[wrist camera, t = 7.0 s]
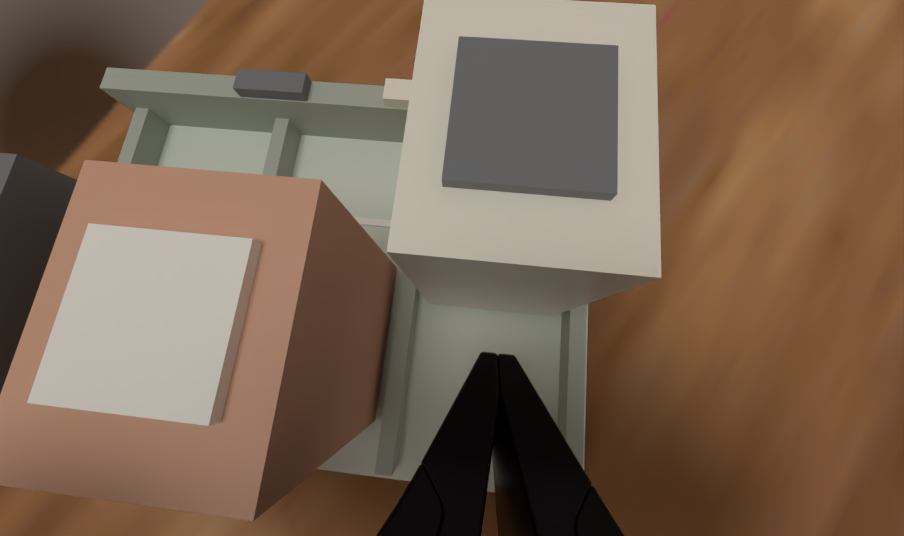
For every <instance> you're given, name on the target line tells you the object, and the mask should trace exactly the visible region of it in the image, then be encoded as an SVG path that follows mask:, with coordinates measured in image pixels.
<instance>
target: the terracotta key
mask: <svg viewBox="0 0 904 536" xmlns="http://www.w3.org/2000/svg"><path fill="white" fill-rule="evenodd" d="M396 271H397V267H396V266H395V265H394V264H393V263H392V261H391V260H390V259H389V258H388V257H387V256H386V254H385V253H384V252H383V251H382V250H381V249H380V247H379V246H378V245H377V244H376V243H375V242H374V240H373V239H372V238H371V237H370V236H369V235H368V233H367V232H366V231H365V230H364V229H363V228H362V226H361V225H360V224H359V223H358V222H357V221H356V219H355V218H354V217H353V216H352V215H351V214H350V212H349V211H348V210H347V209H346V208H345V207H344V205H343V204H342V203H341V202H340V201H339V200H338V198H337V197H336V196H335V195H334V194H333V193H332V191H331V190H330V189H329V188H328V187H327V186H326V184H325V183H324V182H323V181H322V180H320V179H308V178H296V177H284V176H272V175H260V174H248V173H236V172H224V171H212V170H200V169H188V168H176V167H164V166H152V165H140V164H128V163H116V162H104V161H92V160H84V163H83V166H82V168H81V171H80V174H79V177H78V180H77V182H76V185H75V188H74V191H73V194H72V196H71V199H70V202H69V205H68V207H67V210H66V213H65V216H64V219H63V221H62V224H61V227H60V230H59V232H58V235H57V238H56V241H55V244H54V246H53V249H52V252H51V255H50V258H49V260H48V263H47V266H46V269H45V271H44V274H43V277H42V280H41V283H40V285H39V288H38V291H37V294H36V297H35V299H34V302H33V305H32V308H31V310H30V313H29V316H28V319H27V322H26V324H25V327H24V330H23V333H22V335H21V338H20V341H19V344H18V347H17V349H16V352H15V355H14V358H13V361H12V363H11V366H10V369H9V372H8V374H7V377H6V380H5V383H4V386H3V388H2V391H1V394H0V485H1V486H8V487H15V488H22V489H29V490H36V491H43V492H50V493H57V494H64V495H71V496H78V497H86V498H93V499H100V500H107V501H114V502H121V503H128V504H135V505H142V506H149V507H156V508H164V509H171V510H178V511H185V512H192V513H199V514H206V515H213V516H220V517H227V518H234V519H241V520H249V521H254V520H255V519H256V518H258V517H259V516H260V515H261V514H262V513H264V512H265V511H266V510H267V509H269V508H270V507H271V506H272V505H273V504H275V503H276V502H277V501H278V500H279V499H281V498H282V497H283V496H284V495H286V494H287V493H288V492H289V491H290V490H292V489H293V488H294V487H295V486H296V485H298V484H299V483H300V482H301V481H303V480H304V479H305V478H306V477H307V476H309V475H310V474H311V473H312V472H313V471H315V470H316V469H317V468H318V467H319V466H321V465H322V464H323V463H324V462H326V461H327V460H328V459H329V458H330V457H332V456H333V455H334V454H335V453H336V452H338V451H339V450H340V449H341V448H343V447H344V446H345V445H346V444H347V443H349V442H350V441H351V440H352V439H353V438H355V437H356V436H357V435H358V434H360V433H361V432H362V431H363V430H364V429H366V428H367V427H368V426H369V425H370V424H372V423H373V422H374V421H375V419H376V412H377V405H378V398H379V391H380V384H381V377H382V370H383V363H384V356H385V349H386V342H387V335H388V328H389V321H390V314H391V307H392V300H393V293H394V286H395V279H396Z"/></svg>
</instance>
